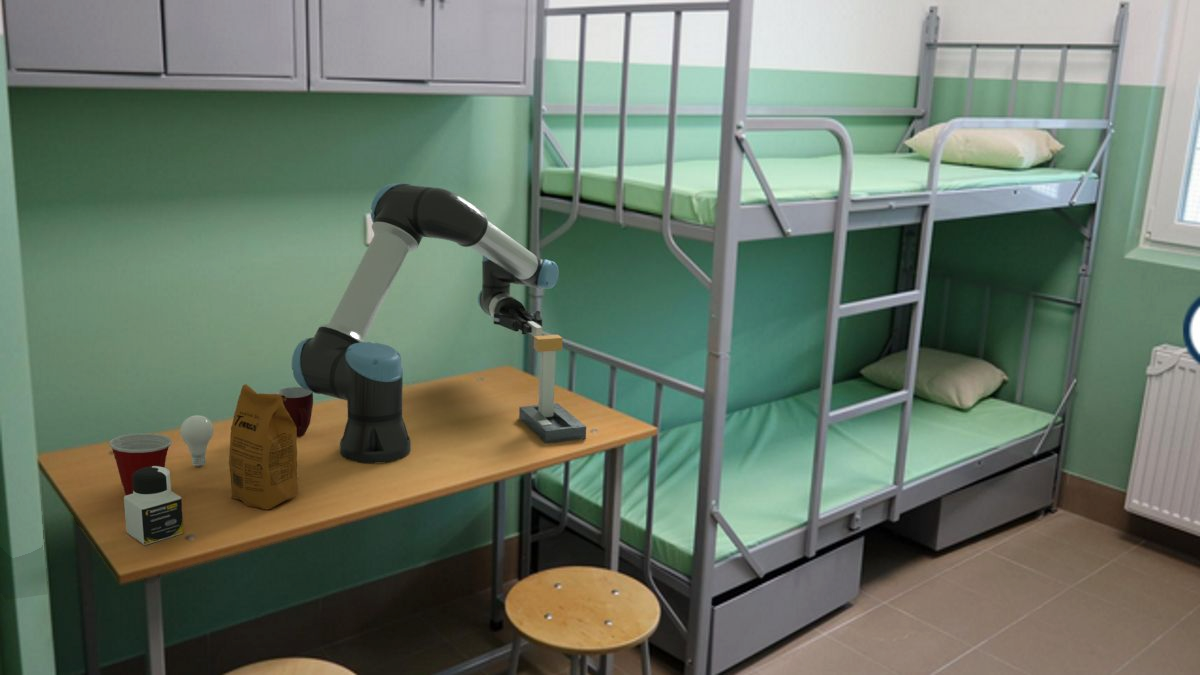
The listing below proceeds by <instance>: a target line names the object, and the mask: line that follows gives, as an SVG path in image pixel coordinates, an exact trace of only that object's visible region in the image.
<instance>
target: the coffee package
mask: <svg viewBox="0 0 1200 675" xmlns="http://www.w3.org/2000/svg"><path fill="white" fill-rule="evenodd" d="M283 401H286V397H285V396H284V395H282V394H276V393H261V392H259V393H257V391H255V390H254V389H252V387H250V385H248V384H247V383H246V384H242V387H241V390H240V394H239V396H238V399H237V401H236V402H237V403H236V407H235V411H234V414H233V419H232V424H231V427H230V436H229V438H230V440H229V452H228V453H229V455H228V467H229V473H230V474H229V476H230V493H231V496H230V497H231V499H234V500H241V501H242V502H243V503H244V504H245V505H246V506H248V507H250V508H257V509H263V510H271V509H273V508H274V507H277V506H278V505H280V504H281V503H283V502H284V501H288V500H291V499H293V498H295V497H296V496H297V495H299V485H298V484H299V483H298V480H299V478H298V466H299V465H298V443H297V428H296V426H295V424H294V422H293V420H292V418H291V417H290V415H289V413H288V412H287V410H286V408H285V406H284V404H283Z"/></svg>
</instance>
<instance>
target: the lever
mask: <svg viewBox="0 0 1200 675" xmlns="http://www.w3.org/2000/svg"><path fill="white" fill-rule="evenodd" d="M533 349H534V350H535V351H536V352H538V353H539V374H538V375H539V379H538V384H539V385H538V405H539V407H538V412H540V413H541V414H542V415H543V416H544V417H551V416H554V404H555V379H556V356H557V354H556V351H562V350H563V337H562V336H560V335H559V334H548V335H545V334H544V335H542V336H534V337H533Z"/></svg>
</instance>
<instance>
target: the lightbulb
mask: <svg viewBox="0 0 1200 675" xmlns="http://www.w3.org/2000/svg"><path fill="white" fill-rule="evenodd" d="M179 431H180V432H179V435H180V437H181V438H182V441H183V442H184V444H186V446H187V447H188V450H189V452H190V456H191V465H192V466H194V467H196V468H201V467H203V466H204V465H206V460H207V459H206V452H207V448H208V445H209V442H210V441H211V439H212V438H213V436H214V425H213V423H212V421H211V420H210V419H209V418H208V417H206V416H204V415H200V414H197V415H191V416H189V417H187V418H186V419H184V420H183V422H182V423H181V425H180V429H179Z"/></svg>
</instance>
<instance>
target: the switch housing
mask: <svg viewBox="0 0 1200 675" xmlns="http://www.w3.org/2000/svg"><path fill="white" fill-rule="evenodd" d="M538 407H539V404H536V405H527V406H519V407H518V408H519V410H518V412H519V413H518V419H519V420H520V421H521V422H522V423H523V424H524V425H526V427H527V428H528V429H529V430H531V432H533V433H534V434H535V435H536V436H537V437H538V438H539V439H540V440H542V442H543V443H545V444H552V443H560V442H569V441H577V440H578V441H579V440H586V439H587V425H585V424H584V423H582V422H581V421H580V420H579V419H578V418H576V417H575V416H574V415H573V414H572V413H571V412H569V411H568V410H567V409H565V408H564V407H563V406H562V405H560V404H559V403H558V402H557V403H556V402H554V416H551V417H544V416H543V415H542V414H541V413H540V412H538Z"/></svg>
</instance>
